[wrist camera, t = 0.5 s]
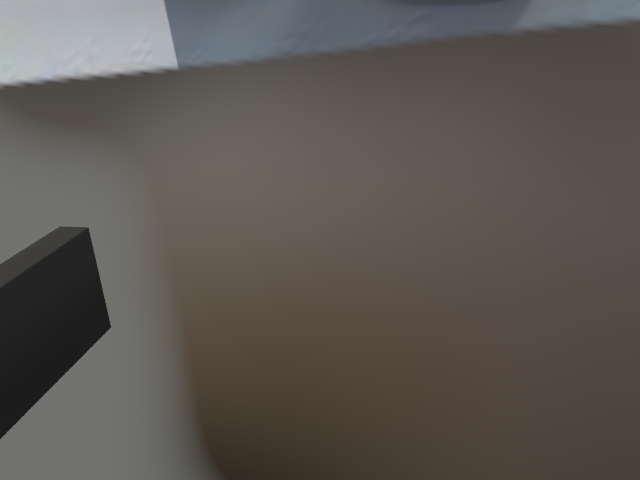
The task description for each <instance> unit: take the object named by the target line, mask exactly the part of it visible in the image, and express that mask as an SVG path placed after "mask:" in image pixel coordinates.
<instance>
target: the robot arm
mask: <svg viewBox="0 0 640 480" xmlns="http://www.w3.org/2000/svg"><path fill="white" fill-rule="evenodd" d="M110 328H111V325H110V321H109V316H108V312H107V308H106V303H105V299H104V294H103V290H102V286H101V282H100V277H99V272H98V268H97V264H96V259H95V255H94V250H93V246H92V242H91V237H90V233H89V228H85V227H59V228H57V229H55V230H54V231H52V232H51V233H49V234H48V235H46V236H44V237H43V238H41V239H40V240H38V241H36V242H35V243H33V244H32V245H30V246H29V247H27V248H25V249H24V250H23V251H21V252H19V253H18V254H16V255H14V256H13V257H11V258H10V259H8V260H7V261H5V262H3V263H2V264H0V439H1V438H2V437H3V435H5V434H6V432H7V431H8V430H10V429H11V428H12V426H13V425H15V424H16V423H17V422H18V421H19V419H20V418H21V417H22V416H23V415H24V414H25V413H26V412H27V411H28V410H29V409H30V408H31V407H32V406H33V405H34V404H35V403H36V402H37V401H38V400H39V399H40V398H41V397H42V396H43V395H44V394H45V393H46V392H47V391H48V390H49V389H50V388H51V387H52V386H53V385H54V384H55V383H56V382H57V381H58V380H59V379H60V378H61V377H62V376H63V375H64V374H65V373H66V372H67V371H68V370H69V369H70V368H71V367H72V366H73V365H74V364H75V363H76V362H77V361H78V360H79V359H80V358H81V357H82V356H83V355H84V354H85V353H86V352H87V351H88V350H89V349H90V348H91V347H92V346H93V345H94V344H95V343H96V342H97V341H98V340H99V339H100V338H101V337H102V336H103V335H104V334H105V333H106V332H107V331H108V330H109V329H110Z"/></svg>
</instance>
